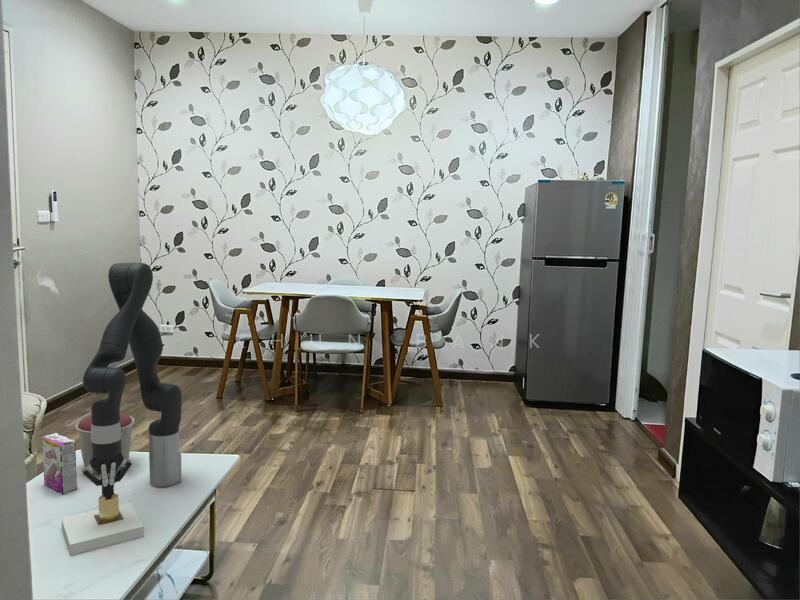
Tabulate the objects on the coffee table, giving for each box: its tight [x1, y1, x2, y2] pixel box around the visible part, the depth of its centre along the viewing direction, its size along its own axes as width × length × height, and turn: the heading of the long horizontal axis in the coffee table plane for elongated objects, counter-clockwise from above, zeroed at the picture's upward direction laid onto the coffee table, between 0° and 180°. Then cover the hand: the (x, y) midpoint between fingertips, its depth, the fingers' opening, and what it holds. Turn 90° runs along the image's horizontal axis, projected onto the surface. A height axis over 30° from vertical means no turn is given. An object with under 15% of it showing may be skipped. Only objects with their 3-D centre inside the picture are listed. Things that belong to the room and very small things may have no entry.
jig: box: [61, 502, 145, 556], centre depth 170 cm, size 18×16×3 cm
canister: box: [74, 412, 135, 475], centre depth 209 cm, size 18×18×21 cm
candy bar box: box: [41, 432, 78, 495], centre depth 194 cm, size 11×5×16 cm, turn 58°
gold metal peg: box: [98, 492, 120, 525], centre depth 172 cm, size 5×5×9 cm
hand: (108, 497), depth 172 cm, fingers closed
